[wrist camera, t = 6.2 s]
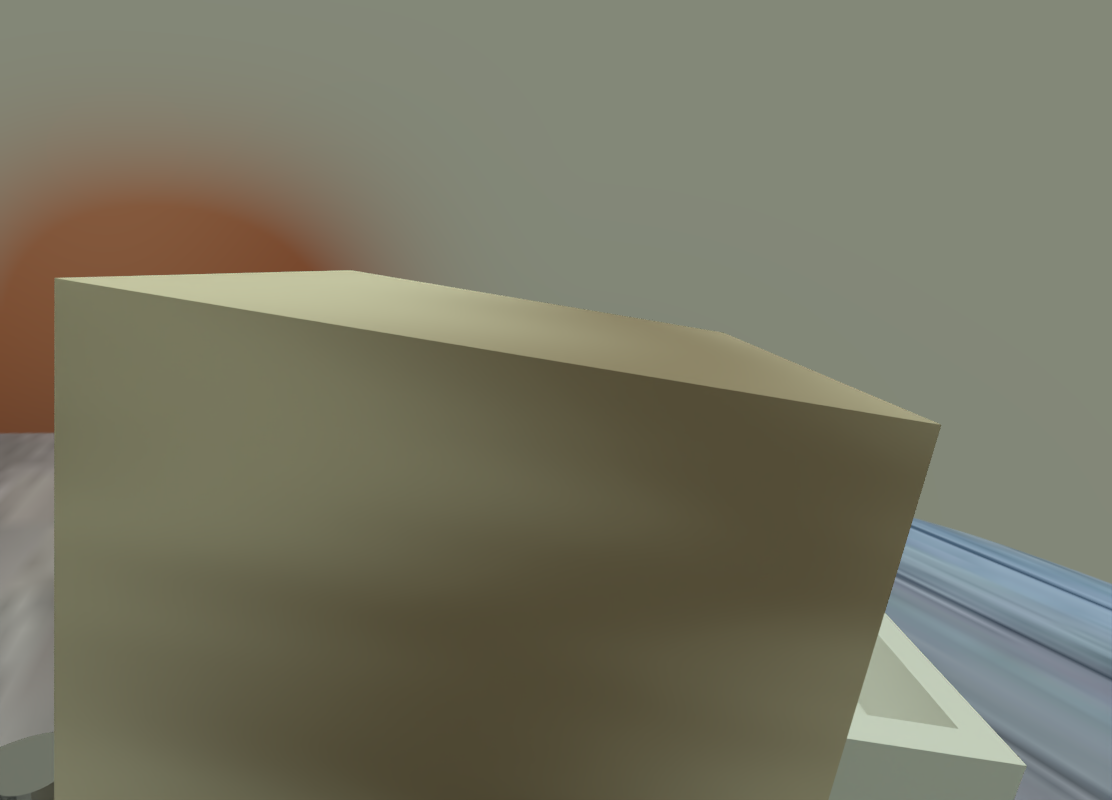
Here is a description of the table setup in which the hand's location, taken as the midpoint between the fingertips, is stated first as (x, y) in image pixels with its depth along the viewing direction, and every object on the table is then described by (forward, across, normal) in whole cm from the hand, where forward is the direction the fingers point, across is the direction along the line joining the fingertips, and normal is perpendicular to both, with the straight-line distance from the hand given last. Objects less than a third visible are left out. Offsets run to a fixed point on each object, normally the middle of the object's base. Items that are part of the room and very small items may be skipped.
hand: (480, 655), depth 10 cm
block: (-3, 0, +7) cm, 7 cm away
